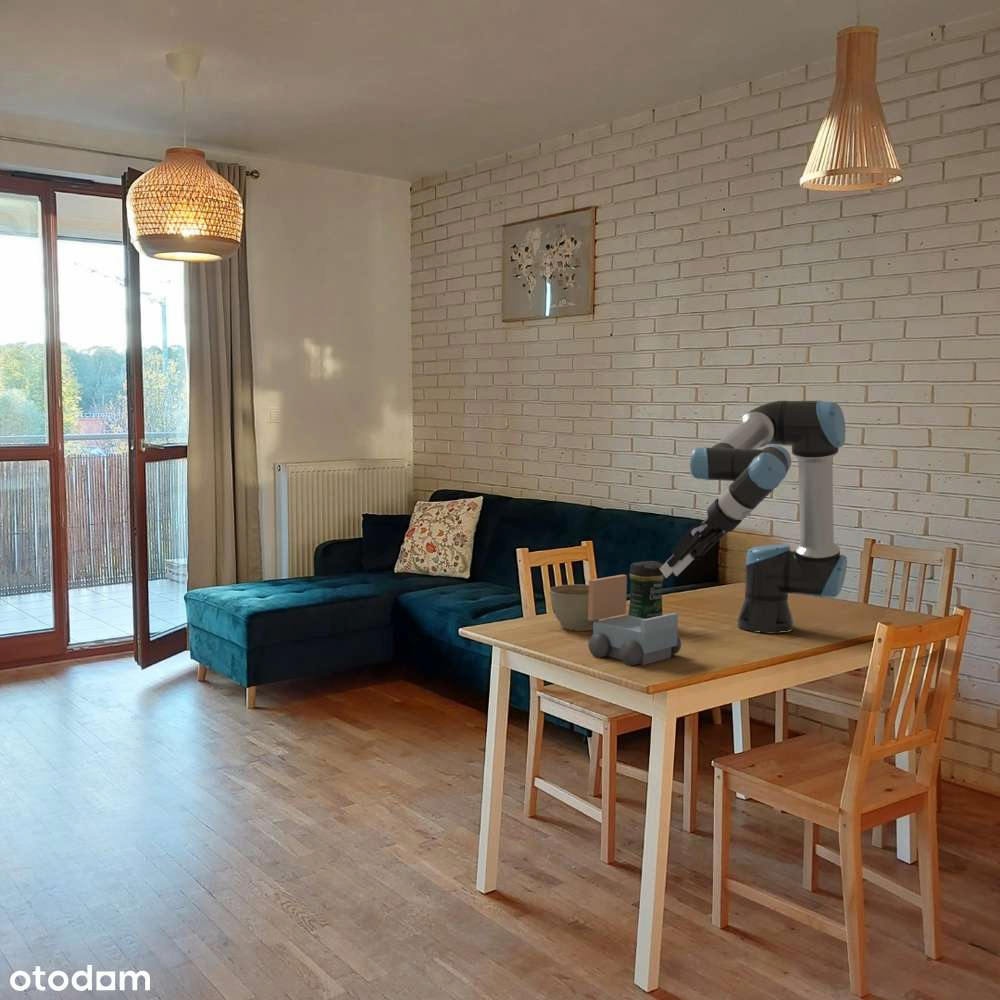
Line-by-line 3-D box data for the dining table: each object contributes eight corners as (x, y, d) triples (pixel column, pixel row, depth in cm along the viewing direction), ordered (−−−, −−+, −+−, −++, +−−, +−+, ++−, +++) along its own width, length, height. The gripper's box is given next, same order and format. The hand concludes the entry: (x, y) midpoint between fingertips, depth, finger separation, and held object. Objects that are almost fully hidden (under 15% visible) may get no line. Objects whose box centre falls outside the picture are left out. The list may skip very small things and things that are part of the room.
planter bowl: (575, 619, 292) (576, 582, 291) (618, 628, 280) (619, 590, 279) (536, 627, 281) (537, 588, 280) (579, 637, 269) (580, 597, 268)
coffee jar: (643, 631, 277) (644, 564, 275) (623, 626, 283) (624, 560, 281) (668, 627, 283) (670, 561, 281) (647, 622, 289) (649, 558, 287)
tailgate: (625, 613, 260) (626, 575, 259) (592, 620, 251) (593, 580, 250) (620, 612, 261) (621, 574, 260) (586, 619, 253) (587, 579, 252)
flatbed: (681, 656, 250) (682, 612, 249) (638, 667, 239) (639, 621, 238) (630, 644, 262) (631, 602, 261) (587, 655, 250) (588, 611, 249)
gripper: (718, 524, 221) (655, 588, 234) (760, 519, 232) (697, 580, 245) (699, 498, 224) (638, 563, 237) (740, 494, 235) (680, 556, 249)
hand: (668, 572), depth 241 cm, fingers open, 3 cm apart
